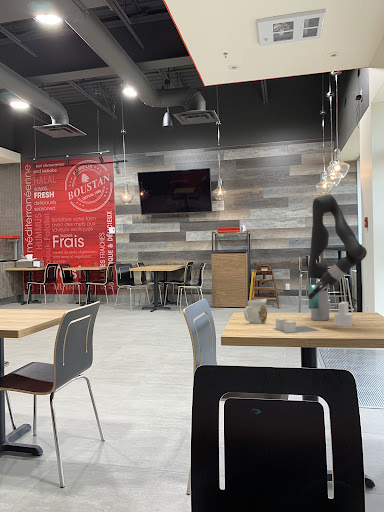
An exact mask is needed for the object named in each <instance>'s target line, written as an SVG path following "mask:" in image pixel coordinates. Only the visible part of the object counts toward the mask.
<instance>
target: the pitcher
mask: <svg viewBox="0 0 384 512" xmlns="http://www.w3.org/2000/svg"><path fill="white" fill-rule="evenodd" d="M267 300H268V299H267V298H261V299H252V300H251V299H250V300H247V306H246V307H245V309H244V311H243V312H244V313H243V314H244V319H245V320H246V322H249V324H251V325H252V324H254V325H259V324H265V323H266V321H267V318H268V309H267V308H268V307H267V306H266V305H267Z"/></svg>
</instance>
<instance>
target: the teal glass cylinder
mask: <svg viewBox="0 0 384 512" xmlns="http://www.w3.org/2000/svg"><path fill="white" fill-rule="evenodd" d="M307 286H308V287H307V289H308V290H307V291H308V292H307V294H308V295H307V298H308V296H309V295H310V294H311V293H312V292H313V290H314V289H315V288H316V286H317V285H316V283H313V284H311V283H310V284H307ZM316 291H317V292H318V290H317V289H316ZM307 300H308V302H307V303H308V309H311V308H312V309H318V308H320V298H319V293H318V294H316V295H315V296H314V297H313V298H312V299H309V298H308V299H307Z"/></svg>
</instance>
